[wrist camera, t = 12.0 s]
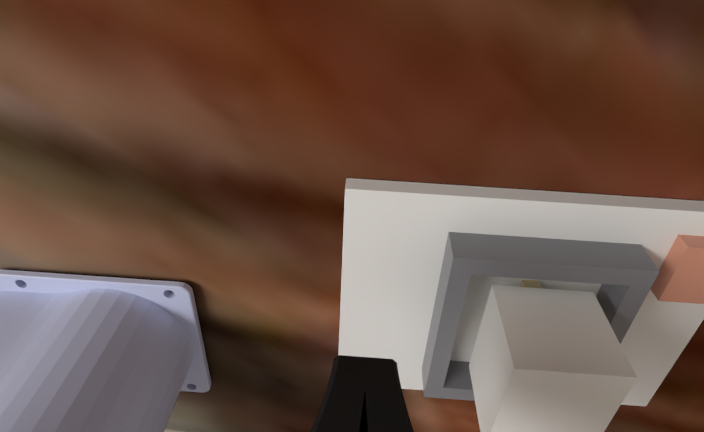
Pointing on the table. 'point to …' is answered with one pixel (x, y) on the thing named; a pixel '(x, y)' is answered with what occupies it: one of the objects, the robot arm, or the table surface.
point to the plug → (547, 362)
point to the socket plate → (512, 272)
